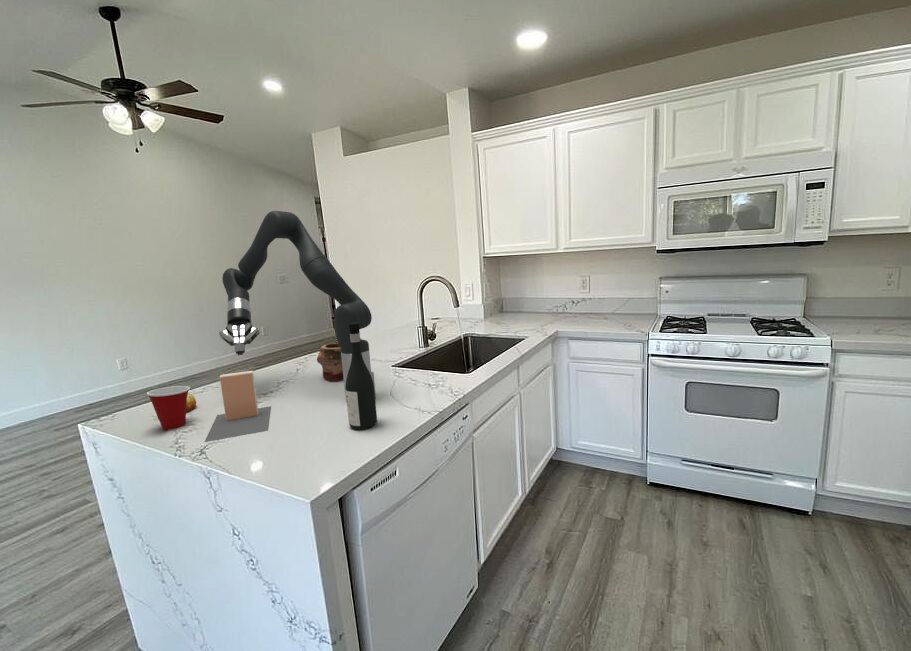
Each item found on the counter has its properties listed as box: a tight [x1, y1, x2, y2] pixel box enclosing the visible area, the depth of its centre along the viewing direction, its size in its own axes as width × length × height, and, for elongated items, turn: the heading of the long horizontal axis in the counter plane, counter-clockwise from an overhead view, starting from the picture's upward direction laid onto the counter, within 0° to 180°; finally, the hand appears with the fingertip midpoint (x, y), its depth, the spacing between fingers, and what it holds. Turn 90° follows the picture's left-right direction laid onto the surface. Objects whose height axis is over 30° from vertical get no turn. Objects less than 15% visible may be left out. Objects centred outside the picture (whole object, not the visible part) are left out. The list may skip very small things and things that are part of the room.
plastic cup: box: [146, 385, 191, 432], centre depth 128 cm, size 11×11×12 cm
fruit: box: [186, 392, 197, 414], centre depth 141 cm, size 11×10×8 cm
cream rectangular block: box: [219, 370, 259, 421], centre depth 132 cm, size 3×9×14 cm, turn 111°
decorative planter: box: [316, 342, 344, 383], centre depth 170 cm, size 20×12×14 cm, turn 71°
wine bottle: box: [344, 322, 378, 431], centre depth 120 cm, size 8×8×30 cm
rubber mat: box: [204, 405, 272, 443], centre depth 128 cm, size 22×16×1 cm
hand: (240, 353), depth 143 cm, fingers closed
